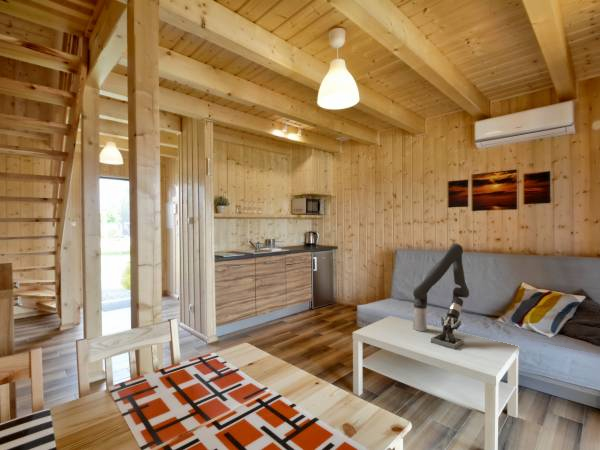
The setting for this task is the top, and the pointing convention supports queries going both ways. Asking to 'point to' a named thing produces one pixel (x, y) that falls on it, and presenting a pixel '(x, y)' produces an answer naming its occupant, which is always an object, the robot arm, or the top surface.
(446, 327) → the phone stand
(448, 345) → the tray
